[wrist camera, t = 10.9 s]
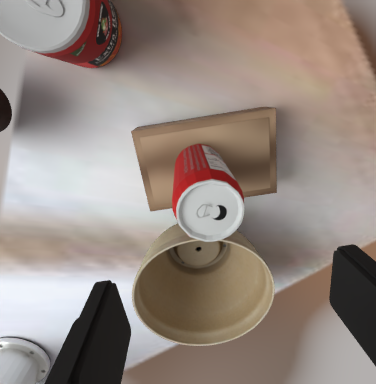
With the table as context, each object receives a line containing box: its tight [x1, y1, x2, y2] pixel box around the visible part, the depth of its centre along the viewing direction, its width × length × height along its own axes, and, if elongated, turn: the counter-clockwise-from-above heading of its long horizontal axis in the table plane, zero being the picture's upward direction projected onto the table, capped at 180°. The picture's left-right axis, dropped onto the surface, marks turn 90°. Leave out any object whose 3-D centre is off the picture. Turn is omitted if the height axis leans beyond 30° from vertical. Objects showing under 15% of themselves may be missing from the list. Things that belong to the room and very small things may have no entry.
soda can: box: [172, 144, 244, 242], centre depth 22 cm, size 6×6×12 cm
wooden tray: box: [131, 107, 277, 211], centre depth 29 cm, size 10×16×4 cm, turn 99°
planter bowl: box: [132, 224, 275, 346], centre depth 31 cm, size 16×16×11 cm
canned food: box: [0, 0, 122, 68], centre depth 20 cm, size 8×8×11 cm
